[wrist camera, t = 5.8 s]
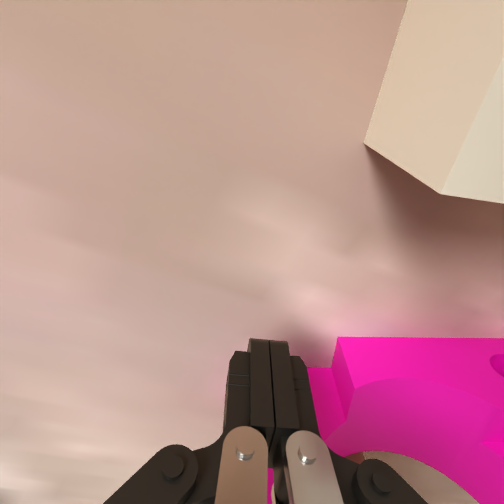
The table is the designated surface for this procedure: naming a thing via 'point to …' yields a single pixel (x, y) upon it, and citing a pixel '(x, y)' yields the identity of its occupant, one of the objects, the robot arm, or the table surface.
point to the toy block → (417, 405)
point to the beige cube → (446, 98)
